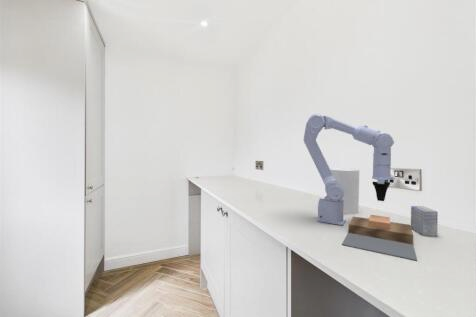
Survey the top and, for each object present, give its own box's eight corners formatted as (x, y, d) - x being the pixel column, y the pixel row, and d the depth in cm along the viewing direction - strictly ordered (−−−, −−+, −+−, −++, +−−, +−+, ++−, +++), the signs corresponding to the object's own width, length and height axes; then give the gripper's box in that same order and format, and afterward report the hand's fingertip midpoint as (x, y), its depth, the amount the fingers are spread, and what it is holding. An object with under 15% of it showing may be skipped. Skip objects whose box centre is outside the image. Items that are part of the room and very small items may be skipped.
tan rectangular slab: (368, 226, 78) (368, 220, 78) (370, 220, 85) (370, 214, 85) (389, 229, 75) (389, 223, 74) (389, 222, 82) (389, 217, 82)
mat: (341, 245, 69) (341, 244, 69) (347, 233, 79) (347, 232, 79) (417, 261, 59) (417, 259, 59) (413, 245, 69) (413, 244, 69)
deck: (348, 232, 80) (348, 224, 80) (352, 224, 90) (353, 216, 90) (412, 244, 70) (413, 234, 70) (410, 233, 80) (410, 224, 80)
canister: (359, 209, 114) (360, 169, 113) (357, 215, 102) (358, 171, 102) (330, 206, 121) (330, 168, 120) (325, 211, 109) (326, 169, 108)
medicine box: (437, 237, 77) (438, 211, 77) (422, 236, 78) (423, 210, 78) (423, 229, 85) (424, 206, 84) (410, 228, 85) (410, 205, 85)
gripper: (394, 166, 79) (393, 205, 79) (394, 164, 91) (393, 198, 91) (371, 165, 83) (370, 202, 83) (373, 164, 95) (372, 196, 95)
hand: (380, 200), depth 88 cm, fingers closed
